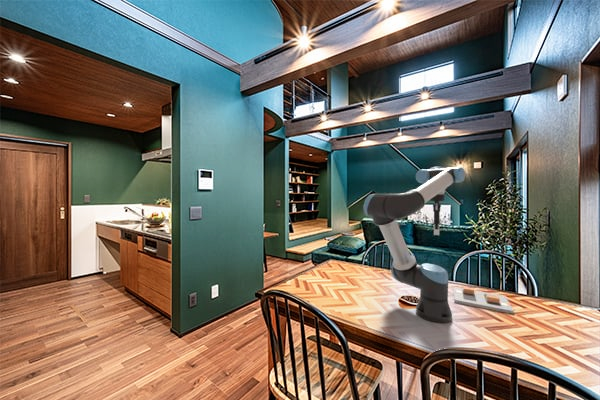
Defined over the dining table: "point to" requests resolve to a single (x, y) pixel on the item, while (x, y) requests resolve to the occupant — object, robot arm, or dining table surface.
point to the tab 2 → (492, 299)
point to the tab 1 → (468, 290)
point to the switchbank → (482, 300)
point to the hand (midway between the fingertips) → (436, 234)
